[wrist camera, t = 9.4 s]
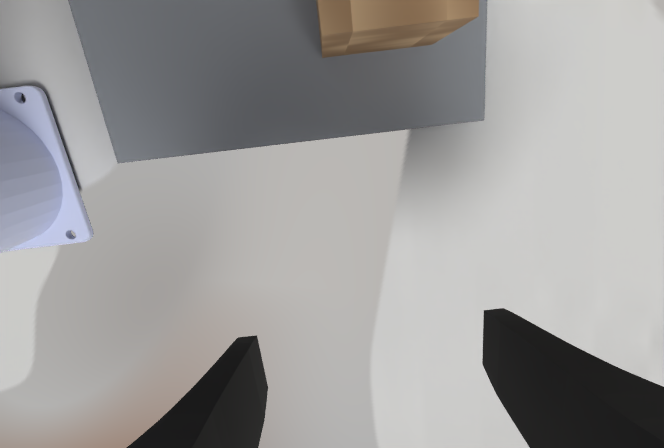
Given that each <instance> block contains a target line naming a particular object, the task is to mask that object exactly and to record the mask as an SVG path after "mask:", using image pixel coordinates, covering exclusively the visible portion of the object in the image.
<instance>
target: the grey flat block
mask: <svg viewBox="0 0 664 448" xmlns="http://www.w3.org/2000/svg"><path fill="white" fill-rule="evenodd" d="M68 1H69V4H70V8H71V11H72V14H73V18H74V21H75V24H76V27H77V31H78V34H79V37H80V41H81V44H82V47H83V50H84V54H85V57H86V60H87V64H88V67H89V70H90V73H91V77H92V80H93V83H94V87H95V90H96V93H97V97H98V100H99V103H100V106H101V110H102V113H103V116H104V120H105V123H106V126H107V129H108V133H109V136H110V139H111V143H112V146H113V149H114V152H115V156H116V159H117V162H118V163H124V162H133V161H141V160H150V159H158V158H166V157H175V156H184V155H192V154H201V153H209V152H218V151H226V150H235V149H244V148H251V147H261V146H269V145H278V144H286V143H295V142H302V141H311V140H320V139H328V138H337V137H345V136H354V135H362V134H371V133H380V132H388V131H396V130H405V129H414V128H423V127H431V126H440V125H448V124H457V123H465V122H474V121H482V120H484V110H485V68H486V25H487V0H479V17H477V18H475V19H474V20H472V21H470V22H469V23H467V24H465V25H464V26H462V27H460V28H459V29H457V30H455V31H454V32H452V33H451V34H449V35H447V36H446V37H444V38H442V39H441V40H439V41H437V42H436V43H434V44H432V45H426V46H418V47H409V48H401V49H392V50H384V51H376V52H367V53H359V54H350V55H342V56H334V57H325V58H322V51H321V42H320V33H319V23H318V14H317V5H316V0H68Z"/></svg>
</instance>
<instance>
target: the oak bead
mask: <svg viewBox="0 0 664 448" xmlns="http://www.w3.org/2000/svg"><path fill="white" fill-rule="evenodd" d="M316 5H317V14H318V23H319V33H320V42H321V51H322V58H325V57H334V56H342V55H350V54H359V53H367V52H376V51H384V50H392V49H401V48H409V47H418V46H426V45H432V44H434V43H436V42H437V41H439V40H441V39H442V38H444V37H446V36H447V35H449V34H451V33H452V32H454V31H455V30H457V29H459V28H460V27H462V26H464V25H465V24H467V23H469V22H470V21H472V20H474V19H475V18H477V17H479V0H316Z"/></svg>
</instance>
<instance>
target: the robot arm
mask: <svg viewBox="0 0 664 448" xmlns="http://www.w3.org/2000/svg"><path fill="white" fill-rule="evenodd" d="M22 94H24V96H25V97H26V101H25V103H24V102H23V101H22V99H21V95H22ZM71 231H73V232H74V233H75V234H76V237H74V236H73V235H72V234H71ZM92 237H93V229H92V226H91V223H90V221H89V218H88V215H87V212H86V209H85V206H84V203H83V201H82V198H81V195H80V192H79V189H78V186H77V183H76V180H75V177H74V174H73V172H72V169H71V166H70V163H69V160H68V157H67V154H66V151H65V149H64V146H63V143H62V140H61V137H60V134H59V131H58V128H57V125H56V123H55V120H54V117H53V114H52V111H51V108H50V105H49V102H48V100H47V97H46V95H45V93H44V91H43V90H42V89H41V88H39V87H37V86H20V87H11V88H3V89H0V253H2V252H4V251H10V250H19V249H28V248H37V247H45V246H54V245H63V244H71V243H80V242H85V241H88V240H90V239H91V238H92ZM483 366H484V368H485V371H486V373H487V375H488V377H489V379H490V382H491V384H492V386H493V388H494V390H495V392H496V394H497V396H498V397H499V399H500V401H501V402H502V404H503V406H504V407H505V409H506V410H507V412H508V414H509V415H510V417H511V419H512V420H513V422H514V423H515V425H516V426H517V428H518V430H519V431H520V433H521V434H522V436H523V438H524V439H525V441H526V442H527V444H528V445H529V447H530V448H664V387H662V386H660V385H658V384H655V383H653V382H650V381H648V380H646V379H643V378H641V377H638V376H636V375H634V374H631V373H629V372H627V371H625V370H622V369H620V368H618V367H616V366H613V365H611V364H609V363H607V362H605V361H603V360H601V359H599V358H597V357H595V356H593V355H591V354H589V353H587V352H585V351H583V350H581V349H579V348H577V347H575V346H573V345H571V344H569V343H567V342H565V341H563V340H562V339H560V338H558V337H556V336H554V335H552V334H551V333H549V332H547V331H545V330H543V329H541V328H540V327H538V326H536V325H534V324H532V323H531V322H529V321H527V320H525V319H523V318H521V317H520V316H518V315H516V314H514V313H512V312H510V311H508V310H506V309H504V308H502V309H493V310H484V329H483ZM267 391H268V386H267V381H266V377H265V372H264V367H263V363H262V357H261V353H260V348H259V344H258V339H257V336H248V337H240V338H237V339H236V340H235V341H234V342H233V343H232V345H231V346H230V347H229V348H228V349H227V350H226V352H225V353H224V354H223V355H222V356H221V357H220V358H219V360H217V362H216V363H215V364H214V365H213V366H212V367H211V368H210V369H209V370H208V372H207V373H206V374H205V375H204V376H203V377H202V378H201V379H200V380H199V381H198V383H197V384H196V385H195V386H194V387H193V388H192V389H191V390H190V391H189V392H188V393H187V394H186V395H185V396H184V397H183V398H182V399H181V400H180V401H179V402H178V403H177V404H176V405H175V406H174V407H173V408H172V409H171V410H170V411H168V412H167V413H166V414H165V415H164V416H163V417H162V418H161V419H160V420H159V421H158V422H156V423H155V424H154V425H153V426H152V427H151V428H150V429H148V430H147V431H146V432H145V433H144V434H143V435H141V436H140V437H139V438H138V439H137V440H136V441H134V442H133V443H132V444H131V445H129V446H128V447H127V448H258V446H259V441H260V437H261V432H262V428H263V423H264V418H265V409H266V401H267Z"/></svg>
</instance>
